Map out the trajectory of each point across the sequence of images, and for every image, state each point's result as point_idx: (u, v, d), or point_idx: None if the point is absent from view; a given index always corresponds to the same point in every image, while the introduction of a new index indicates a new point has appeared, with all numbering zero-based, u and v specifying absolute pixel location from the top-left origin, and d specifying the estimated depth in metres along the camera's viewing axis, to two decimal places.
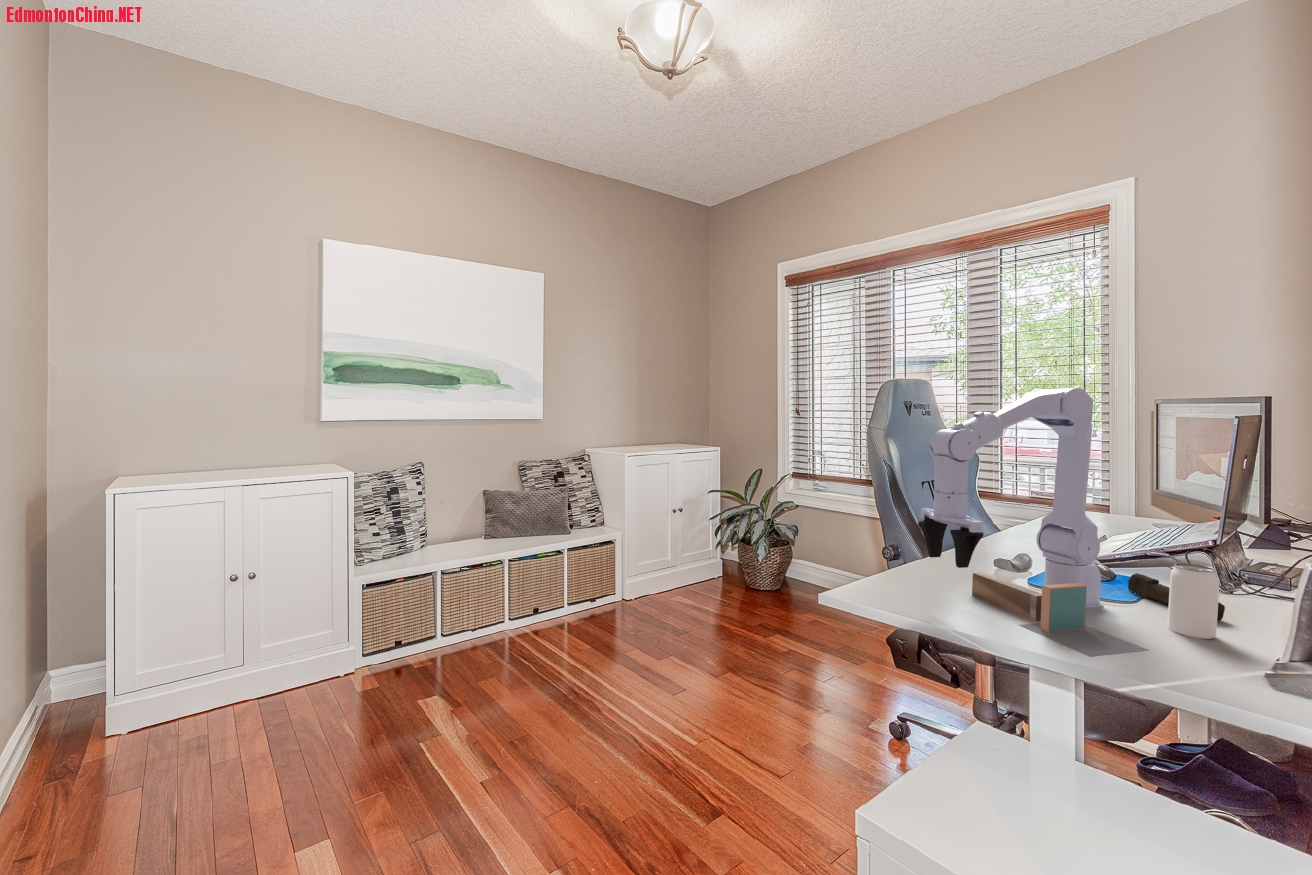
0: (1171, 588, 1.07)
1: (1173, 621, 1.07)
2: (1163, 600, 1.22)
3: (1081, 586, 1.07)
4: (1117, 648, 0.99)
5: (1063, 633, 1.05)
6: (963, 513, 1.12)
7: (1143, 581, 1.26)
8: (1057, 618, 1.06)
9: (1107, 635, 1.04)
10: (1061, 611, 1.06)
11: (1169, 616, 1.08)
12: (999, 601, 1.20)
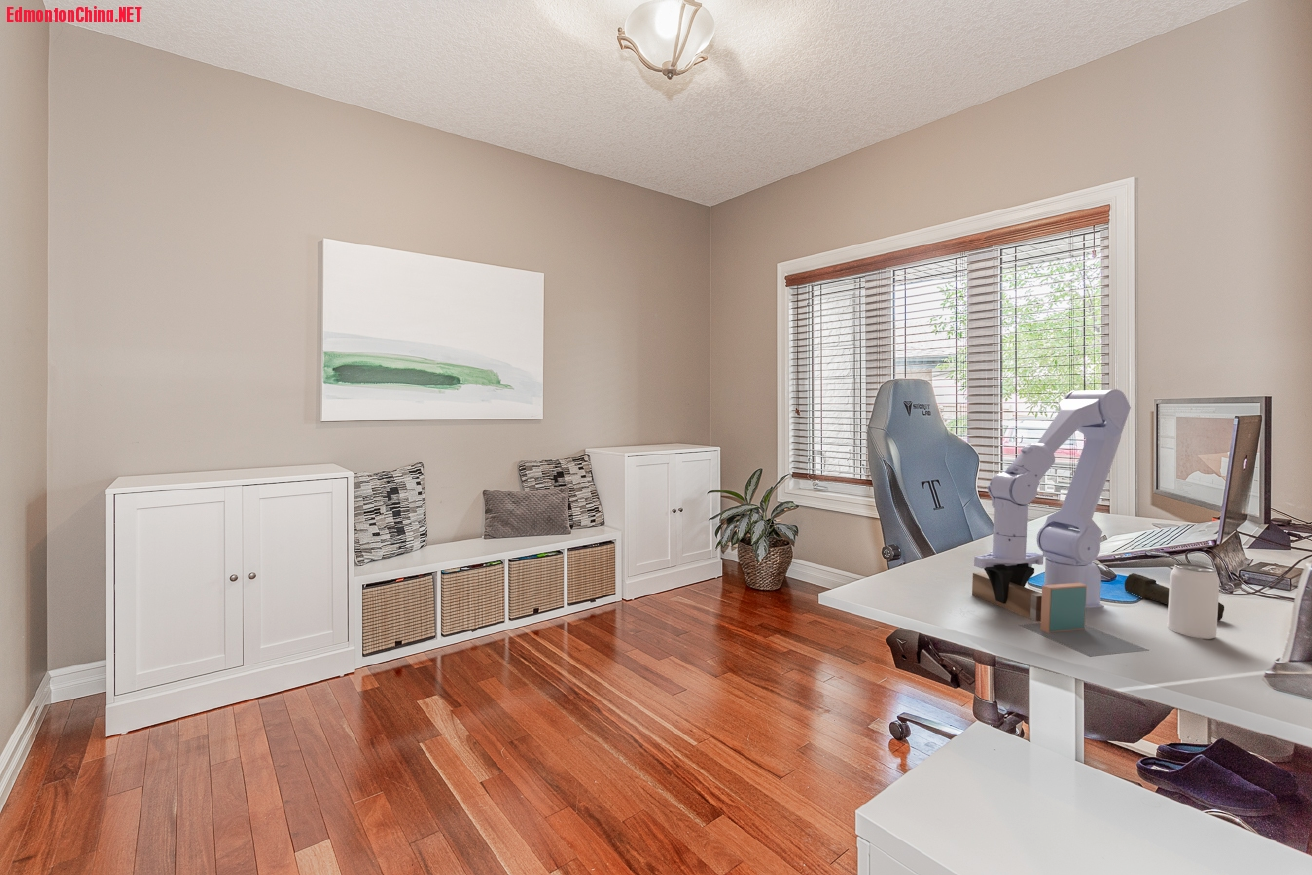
0: (1171, 588, 1.07)
1: (1173, 621, 1.07)
2: (1161, 600, 1.22)
3: (1081, 586, 1.07)
4: (1117, 648, 0.99)
5: (1063, 633, 1.05)
6: (1000, 554, 1.17)
7: (1140, 582, 1.26)
8: (1057, 618, 1.06)
9: (1107, 635, 1.04)
10: (1061, 611, 1.06)
11: (1169, 616, 1.08)
12: None
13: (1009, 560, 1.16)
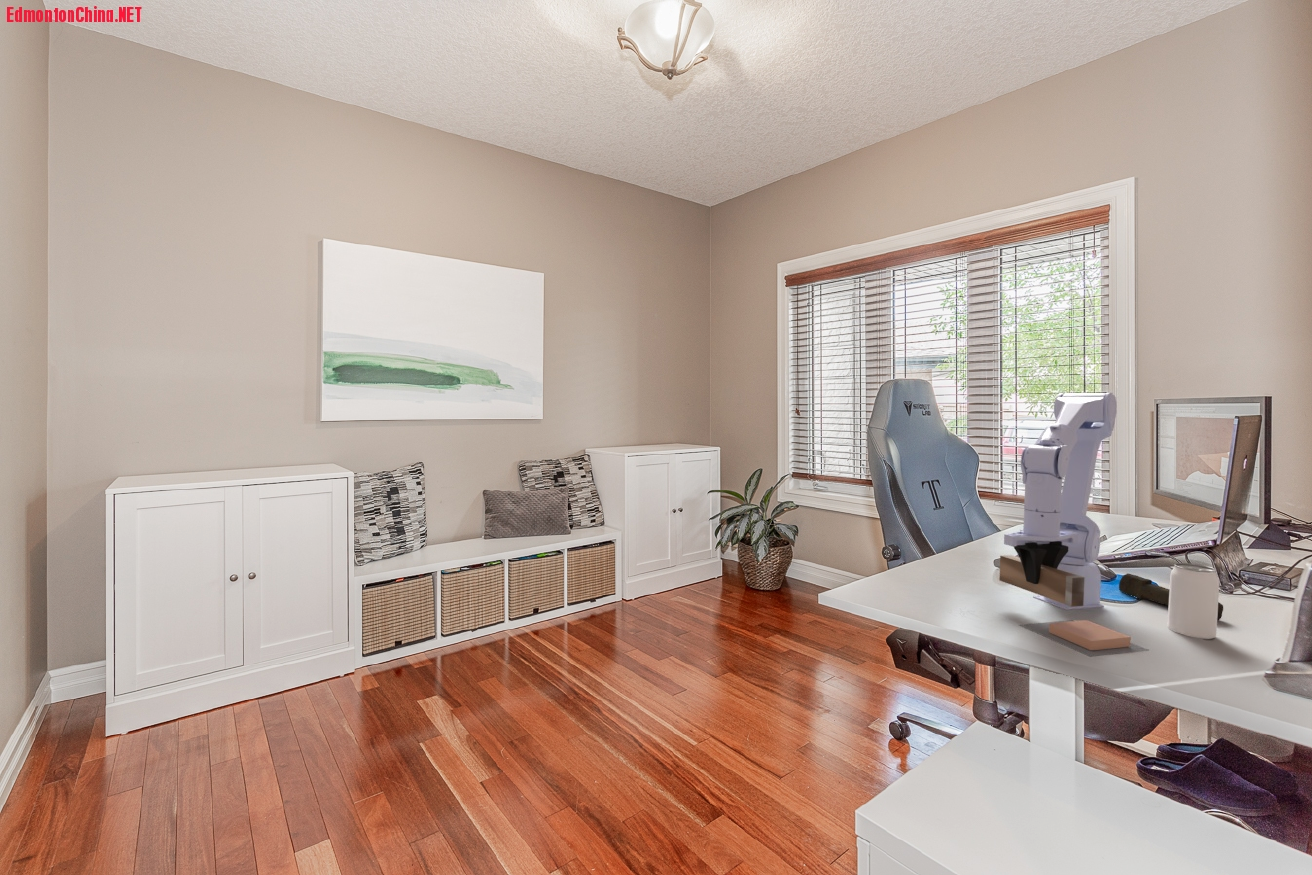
0: (1171, 588, 1.07)
1: (1173, 621, 1.07)
2: (1159, 600, 1.22)
3: (1123, 646, 0.99)
4: (1117, 648, 0.99)
5: None
6: (1032, 531, 1.10)
7: (1136, 582, 1.26)
8: None
9: None
10: None
11: (1169, 616, 1.08)
12: (1030, 585, 1.12)
13: (1042, 537, 1.09)
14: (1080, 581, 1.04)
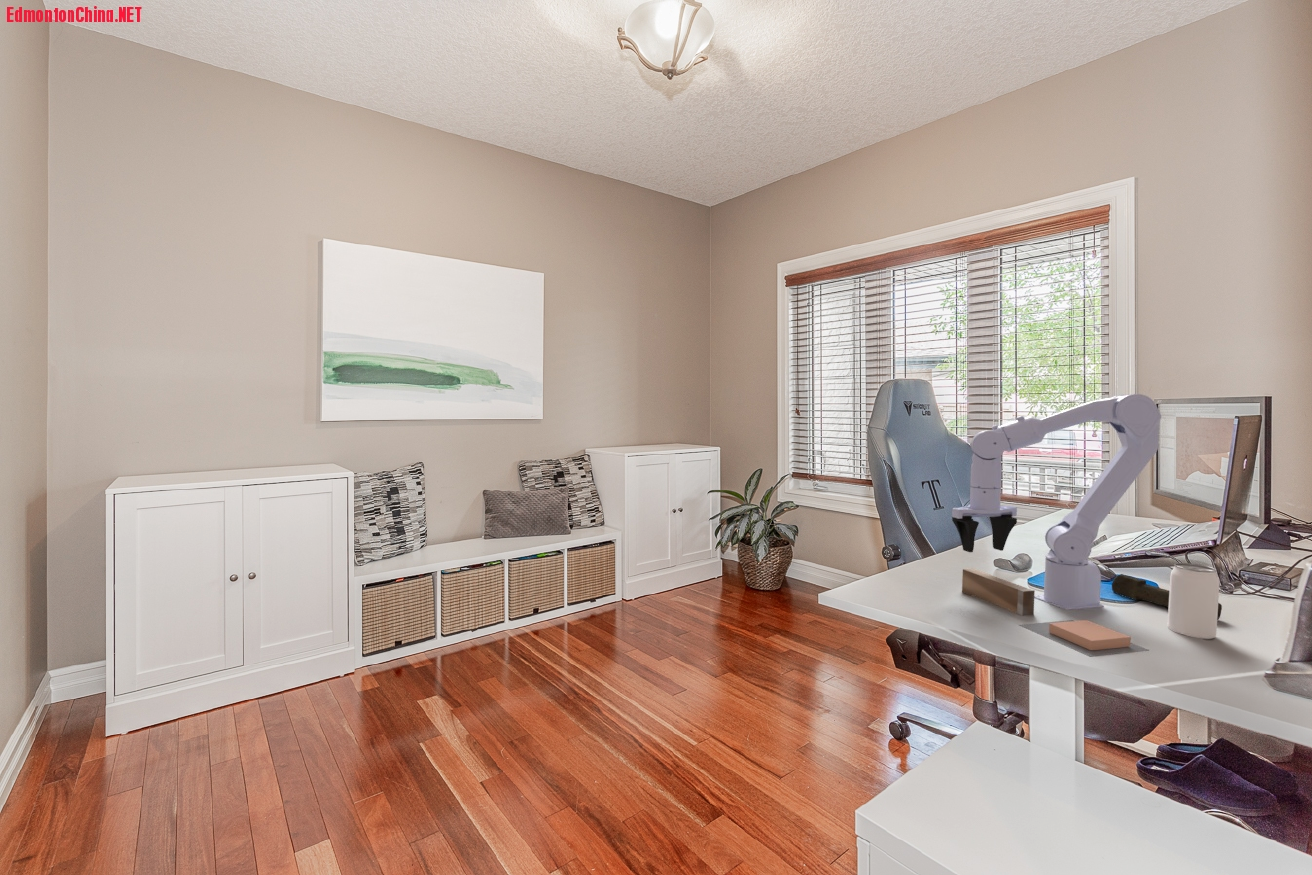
0: (1171, 588, 1.07)
1: (1173, 621, 1.07)
2: (1156, 601, 1.21)
3: (1123, 646, 0.99)
4: (1117, 648, 0.99)
5: None
6: (976, 505, 1.26)
7: (1131, 582, 1.26)
8: None
9: None
10: None
11: (1169, 616, 1.08)
12: (988, 596, 1.22)
13: (984, 511, 1.25)
14: (1030, 594, 1.14)
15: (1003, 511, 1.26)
